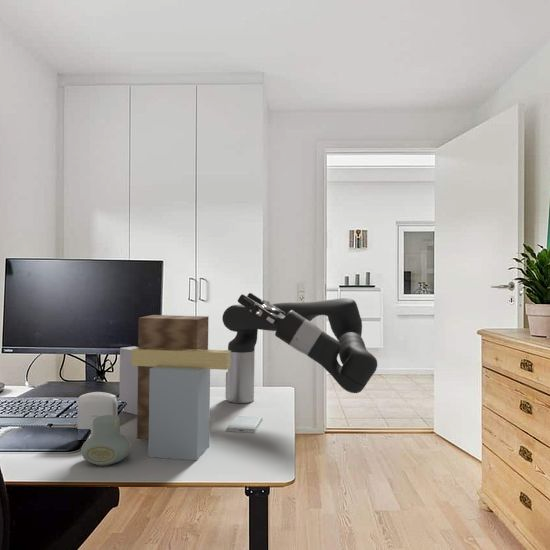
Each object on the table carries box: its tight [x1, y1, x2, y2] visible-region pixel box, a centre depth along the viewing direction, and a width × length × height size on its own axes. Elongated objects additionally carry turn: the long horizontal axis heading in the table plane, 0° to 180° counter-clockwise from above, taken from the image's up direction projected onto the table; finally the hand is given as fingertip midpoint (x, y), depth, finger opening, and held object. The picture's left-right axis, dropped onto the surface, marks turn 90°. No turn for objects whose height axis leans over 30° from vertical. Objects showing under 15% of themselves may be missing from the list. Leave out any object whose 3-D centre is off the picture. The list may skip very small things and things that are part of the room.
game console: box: [118, 346, 138, 416], centre depth 159 cm, size 6×27×20 cm, turn 53°
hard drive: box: [226, 415, 263, 433], centre depth 151 cm, size 2×8×12 cm
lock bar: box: [131, 346, 231, 371], centre depth 128 cm, size 24×4×4 cm, turn 81°
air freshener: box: [80, 415, 132, 467], centre depth 121 cm, size 11×8×10 cm
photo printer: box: [76, 391, 118, 437], centre depth 136 cm, size 10×4×12 cm, turn 90°
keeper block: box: [148, 367, 211, 461], centre depth 128 cm, size 12×10×21 cm
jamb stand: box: [136, 314, 209, 442], centre depth 140 cm, size 16×10×32 cm, turn 81°
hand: (243, 296), depth 128 cm, fingers open, 8 cm apart
